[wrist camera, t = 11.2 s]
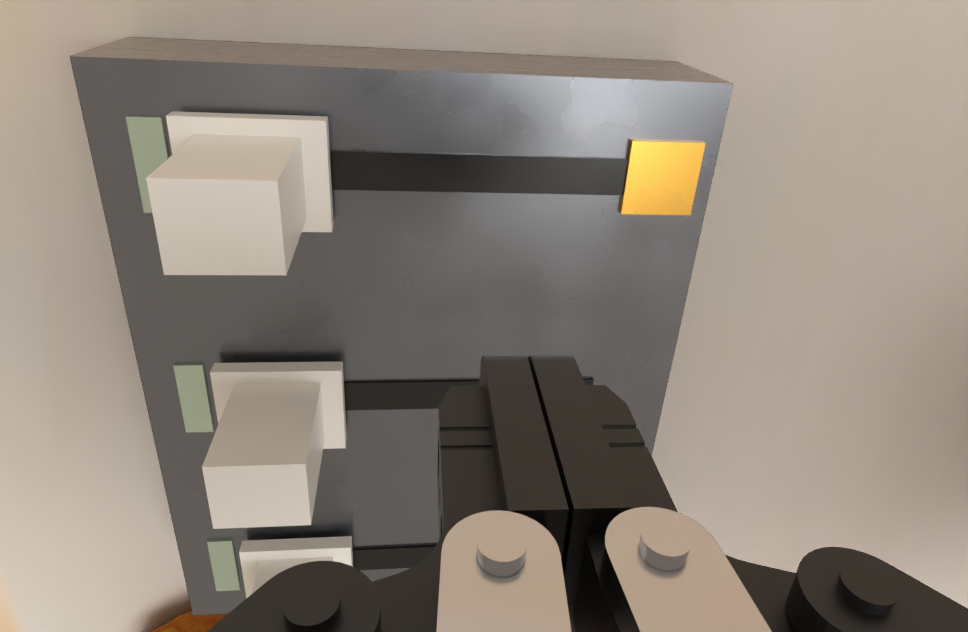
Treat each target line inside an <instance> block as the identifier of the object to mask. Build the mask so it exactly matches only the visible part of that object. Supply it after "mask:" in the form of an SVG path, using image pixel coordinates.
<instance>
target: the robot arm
mask: <svg viewBox="0 0 968 632" xmlns="http://www.w3.org/2000/svg"><path fill="white" fill-rule="evenodd" d="M437 488H438V519H439V541H438V543H437V545H436V546H435V548H434V549H433V550H432V552H431V553H430V554H429V555H428V556H427V557H426V558H425V559H423V560H422V561H421V562H419V563H418V564H416V565H415V566H413V567H411V568H409V569H407V570H405V571H403V572H400V573H397V574H395V575H392V576H388V577H385V578H382V579H379V580H376V581H373V582H372V581H371V580H370V579H369V578H368V577H367V576H366V575H365V574H364V573H362V572H361V571H360V570H358V569H356V568H354V567H352V566H350V565H347V564H344V563H341V562H335V561H313V562H307V563H303V564H299V565H296V566H293V567H291V568H288V569H286V570H284V571H282V572H280V573H278V574H277V575H275V576H274V577H272V578H271V579H270V580H268V581H267V582H266V583H265V584H263V585H262V586H261V587H260V588H259V589H257V590H256V591H255V592H254V593H253V594H251V595H250V596H249V597H248V598H247V599H245V600H244V601H243V602H242V603H241V604H239V605H238V606H237V607H236V608H235V609H233V610H232V611H231V612H230V613H229V614H227V615H226V616H225V617H224V618H222V619H221V620H220V621H219V622H218V623H216V624H215V625H214V626H213V627H212V628H210V629H209V630H208V631H207V632H968V609H967V608H966V607H964V606H962V605H960V604H958V603H957V602H955V601H953V600H951V599H950V598H948V597H946V596H944V595H943V594H941V593H939V592H937V591H935V590H934V589H932V588H930V587H928V586H927V585H925V584H923V583H921V582H920V581H918V580H916V579H914V578H912V577H911V576H909V575H907V574H905V573H904V572H902V571H900V570H898V569H897V568H895V567H893V566H891V565H889V564H888V563H886V562H884V561H882V560H880V559H878V558H876V557H874V556H871V555H869V554H866V553H863V552H860V551H856V550H853V549H847V548H841V547H826V548H820V549H816V550H814V551H812V552H810V553H808V554H807V555H806V556H805V557H803V559H802V561H801V562H800V564H799V567H798V570H797V572H796V573H792V572H788V571H783V570H779V569H775V568H770V567H766V566H762V565H757V564H753V563H748V562H745V561H741V560H738V559H735V558H732V557H730V556H727V555H725V554H724V553H723V551H722V549H721V548H720V546H719V544H718V543H717V542H716V540H715V539H714V537H713V536H712V535H711V534H710V533H709V532H708V531H707V530H706V529H705V528H704V527H703V526H701V525H700V524H699V523H697V522H696V521H694V520H692V519H691V518H689V517H687V516H685V515H683V514H681V513H678V512H677V510H676V508H675V505H674V503H673V501H672V499H671V497H670V495H669V493H668V491H667V488H666V486H665V484H664V482H663V480H662V478H661V476H660V474H659V471H658V469H657V467H656V465H655V463H654V461H653V459H652V457H651V454H650V452H649V450H648V448H647V447H645V442H644V440H643V437H642V435H641V433H640V431H639V429H637V428H636V423H635V420H634V418H633V416H632V414H631V412H630V410H629V408H628V406H627V403H625V402H624V401H623V400H622V399H621V398H620V397H619V396H617V395H616V394H615V393H614V392H613V391H612V390H610V389H609V388H608V387H607V386H606V385H585V383H584V380H583V378H582V375H581V372H580V370H579V367H578V365H577V362H576V360H575V358H574V356H528V358H527V356H482V358H481V365H480V382H479V386H451V387H450V389H449V390H448V392H447V393H446V395H445V396H444V398H443V399H442V401H441V402H440V404H439V415H438V465H437Z"/></svg>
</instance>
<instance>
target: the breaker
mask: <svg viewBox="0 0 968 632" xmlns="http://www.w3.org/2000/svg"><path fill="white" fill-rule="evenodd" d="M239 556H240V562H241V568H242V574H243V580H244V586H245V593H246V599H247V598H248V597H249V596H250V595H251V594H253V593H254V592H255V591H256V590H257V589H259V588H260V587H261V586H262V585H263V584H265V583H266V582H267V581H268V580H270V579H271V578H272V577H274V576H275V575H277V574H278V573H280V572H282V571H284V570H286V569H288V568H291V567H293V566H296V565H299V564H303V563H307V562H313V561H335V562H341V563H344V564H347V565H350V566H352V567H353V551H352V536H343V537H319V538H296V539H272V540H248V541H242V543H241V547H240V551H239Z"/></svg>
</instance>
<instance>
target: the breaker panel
mask: <svg viewBox="0 0 968 632" xmlns="http://www.w3.org/2000/svg"><path fill="white" fill-rule="evenodd" d="M70 60H71V64H72V69H73V73H74V78H75V82H76V87H77V92H78V96H79V101H80V105H81V110H82V114H83V119H84V123H85V128H86V132H87V137H88V141H89V146H90V151H91V155H92V160H93V164H94V169H95V173H96V178H97V182H98V187H99V191H100V196H101V200H102V205H103V209H104V214H105V219H106V223H107V228H108V232H109V237H110V241H111V246H112V250H113V255H114V259H115V264H116V268H117V273H118V277H119V282H120V287H121V291H122V296H123V300H124V305H125V309H126V314H127V318H128V323H129V327H130V332H131V336H132V341H133V345H134V350H135V355H136V359H137V364H138V368H139V373H140V377H141V382H142V386H143V391H144V395H145V400H146V404H147V409H148V413H149V418H150V423H151V427H152V432H153V436H154V441H155V445H156V450H157V454H158V459H159V463H160V468H161V472H162V477H163V481H164V486H165V491H166V495H167V500H168V504H169V509H170V513H171V518H172V522H173V527H174V531H175V536H176V540H177V545H178V550H179V554H180V559H181V563H182V568H183V572H184V577H185V581H186V586H187V590H188V595H189V599H190V604H191V608H192V613H193V615H207V614H226V613H230V612H231V611H232V610H233V609H235V608H236V607H237V606H238V605H239V604H241V603H242V602H243V601H244V600H245V599H246V593H245V586H244V580H243V574H242V568H241V562H240V556H239V551H240V547H241V543H242V541H248V540H272V539H296V538H319V537H343V536H352V551H353V567H354V568H356V569H358V570H360V571H361V572H362V573H364V574H365V575H366V576H367V577H368V578H369V579H370V580H371V581H372V582H373V581H376V580H379V579H382V578H385V577H388V576H392V575H395V574H397V573H400V572H403V571H405V570H407V569H409V568H411V567H413V566H415V565H416V564H418V563H419V562H421V561H422V560H423V559H425V558H426V557H427V556H428V555H429V554H430V553H431V552H432V550H433V549H434V548H435V546H436V545H437V543H438V541H439V519H438V488H437V465H438V415H439V404H440V402H441V401H442V399H443V398H444V396H445V395H446V393H447V392H448V390H449V389H450V387H451V386H479V382H480V365H481V358H482V356H527V358H528V356H574V358H575V360H576V362H577V365H578V367H579V370H580V372H581V375H582V378H583V380H584V383H585V385H606V386H607V387H608V388H609V389H610V390H612V391H613V392H614V393H615V394H616V395H617V396H619V397H620V398H621V399H622V400H623V401H624V402H625V403H627V406H628V408H629V410H630V412H631V414H632V416H633V418H634V420H635V423H636V428H637V429H639V431H640V433H641V435H642V437H643V440H644V442H645V447H647V448H648V450H649V452H650V454H651V456H652V451H653V447H654V442H655V437H656V433H657V428H658V424H659V419H660V415H661V410H662V406H663V401H664V396H665V392H666V387H667V383H668V378H669V374H670V369H671V365H672V360H673V356H674V351H675V346H676V342H677V337H678V333H679V328H680V324H681V319H682V315H683V310H684V305H685V301H686V296H687V292H688V287H689V283H690V278H691V274H692V269H693V265H694V260H695V255H696V251H697V246H698V242H699V237H700V233H701V228H702V224H703V219H704V214H705V210H706V205H707V201H708V196H709V192H710V187H711V183H712V178H713V174H714V169H715V164H716V160H717V155H718V151H719V146H720V142H721V137H722V133H723V128H724V123H725V119H726V114H727V110H728V105H729V101H730V96H731V92H732V87H733V83H730V82H728V81H725V80H723V79H720V78H718V77H715V76H713V75H710V74H707V73H705V72H702V71H700V70H697V69H695V68H692V67H690V66H687V65H684V64H682V63H679V62H673V61H651V60H629V59H607V58H585V57H563V56H541V55H519V54H497V53H475V52H452V51H430V50H408V49H386V48H364V47H342V46H320V45H298V44H276V43H254V42H232V41H209V40H187V39H165V38H143V37H129V38H126V39H123V40H120V41H116V42H113V43H110V44H107V45H104V46H100V47H97V48H94V49H91V50H87V51H84V52H81V53H78V54H75V55H71V56H70ZM172 111H178V112H208V113H239V114H269V115H300V116H328V126H329V145H330V164H331V183H332V202H333V221H334V226H333V231H332V232H302V233H301V235H300V238H299V241H298V244H297V247H296V250H295V252H294V255H293V258H292V261H291V264H290V267H289V269H288V272H287V275H286V276H285V275H164V272H163V267H162V261H161V256H160V251H159V245H158V240H157V234H156V229H155V224H154V218H153V213H152V207H151V202H150V197H149V191H148V186H147V180H146V178H147V177H148V176H149V175H150V174H151V173H152V172H154V171H155V170H156V169H157V168H158V167H159V166H160V165H161V164H163V163H164V162H165V161H166V160H167V159H168V158H169V157H170V156H172V151H171V144H170V138H169V132H168V126H167V120H166V115H168V114H169V113H171V112H172ZM253 362H343V376H344V395H345V415H346V434H347V440H346V448H338V449H323V452H322V459H321V465H320V472H319V478H318V485H317V491H316V497H315V504H314V510H313V517H312V523H311V525H299V526H274V527H249V528H224V529H213V525H212V519H211V514H210V509H209V503H208V498H207V492H206V487H205V481H204V476H203V470H202V466H203V463H204V460H205V458H206V455H207V453H208V450H209V447H210V445H211V442H212V440H213V437H214V434H215V432H216V429H217V427H218V420H217V414H216V407H215V401H214V395H213V389H212V383H211V377H210V371H211V369H212V367H213V364H214V363H253Z"/></svg>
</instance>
